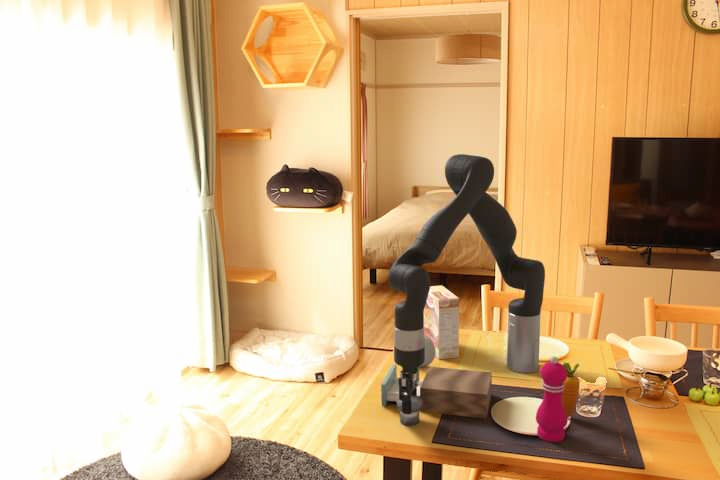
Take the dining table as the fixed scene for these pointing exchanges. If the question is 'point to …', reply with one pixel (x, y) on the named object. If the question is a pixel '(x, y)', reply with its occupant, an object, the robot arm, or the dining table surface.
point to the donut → (429, 352)
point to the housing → (456, 392)
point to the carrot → (570, 389)
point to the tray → (393, 386)
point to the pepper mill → (552, 402)
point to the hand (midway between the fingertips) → (409, 406)
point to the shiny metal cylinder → (409, 418)
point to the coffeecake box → (442, 322)
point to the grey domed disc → (412, 404)
